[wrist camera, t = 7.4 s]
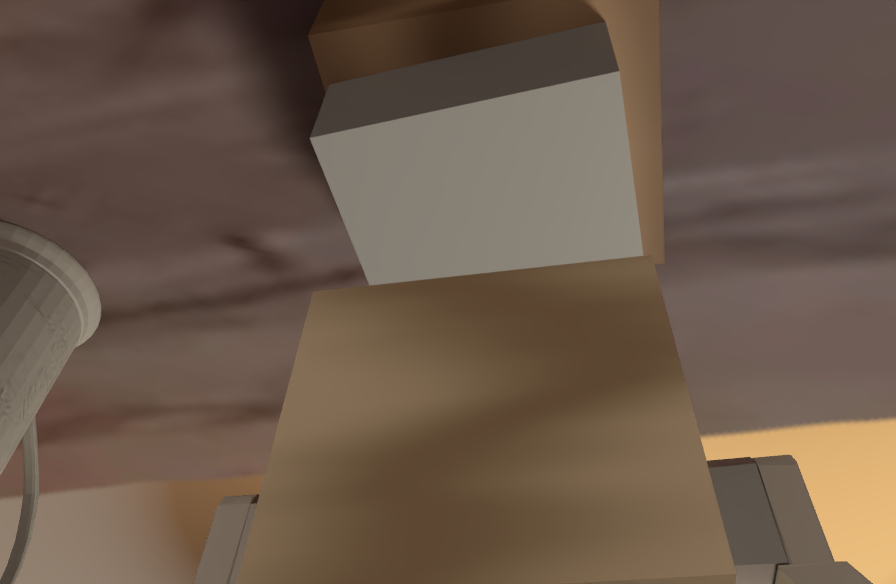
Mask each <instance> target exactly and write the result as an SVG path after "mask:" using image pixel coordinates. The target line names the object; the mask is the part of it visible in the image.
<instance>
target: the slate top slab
mask: <svg viewBox="0 0 896 584" xmlns="http://www.w3.org/2000/svg"><path fill="white" fill-rule="evenodd" d="M310 140H311V143H312V145H313V148H314V150H315V153H316V155H317V158H318V160H319V162H320V165H321V167H322V170H323V172H324V175H325V177H326V180H327V182H328V184H329V187H330V189H331V192H332V194H333V197H334V199H335V202H336V204H337V207H338V209H339V211H340V214H341V216H342V219H343V221H344V224H345V226H346V229H347V231H348V233H349V236H350V238H351V241H352V243H353V246H354V248H355V251H356V253H357V256H358V258H359V260H360V263H361V265H362V268H363V270H364V273H365V275H366V278H367V280H368V282H369V285H379V284H388V283H397V282H406V281H416V280H425V279H434V278H443V277H452V276H462V275H471V274H480V273H489V272H498V271H508V270H517V269H526V268H535V267H544V266H554V265H563V264H572V263H581V262H590V261H600V260H609V259H618V258H627V257H636V256H643V248H642V240H641V233H640V225H639V217H638V210H637V202H636V194H635V186H634V179H633V171H632V163H631V156H630V148H629V140H628V133H627V125H626V117H625V109H624V102H623V94H622V86H621V79H620V71H619V67H618V64H617V60H616V57H615V53H614V50H613V46H612V43H611V39H610V35H609V32H608V28H607V25H606V21H605V22H600V23H596V24H591V25H587V26H583V27H578V28H574V29H570V30H565V31H561V32H556V33H552V34H548V35H543V36H539V37H535V38H530V39H526V40H522V41H517V42H513V43H508V44H504V45H500V46H495V47H491V48H487V49H482V50H478V51H474V52H469V53H465V54H460V55H456V56H452V57H447V58H443V59H439V60H434V61H430V62H425V63H421V64H417V65H412V66H408V67H404V68H399V69H395V70H391V71H386V72H382V73H378V74H373V75H369V76H365V77H360V78H356V79H352V80H347V81H343V82H338V83H334V84H330V85H329V87H328V90H327V92H326V95H325V98H324V100H323V103H322V106H321V109H320V111H319V114H318V117H317V119H316V122H315V125H314V127H313V130H312V133H311V136H310Z"/></svg>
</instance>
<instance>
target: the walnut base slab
mask: <svg viewBox="0 0 896 584" xmlns="http://www.w3.org/2000/svg"><path fill="white" fill-rule="evenodd" d="M605 21H606V25H607V28H608V32H609V35H610V39H611V43H612V46H613V50H614V53H615V57H616V60H617V64H618V67H619V71H620V79H621V86H622V94H623V102H624V109H625V117H626V125H627V133H628V140H629V148H630V156H631V163H632V171H633V179H634V186H635V194H636V202H637V210H638V217H639V225H640V233H641V240H642V248H643V256H646V255H652V258H653V261H654V264H661V263H665V261H664V215H663V170H662V124H661V78H660V33H659V0H324V1H323V3H322V5H321V8H320V10H319V12H318V14H317V16H316V19H315V21H314V23H313V25H312V27H311V30H310V32H309V34H308V38H309V42H310V45H311V48H312V51H313V55H314V58H315V61H316V64H317V68H318V71H319V74H320V77H321V81H322V84H323V87H324V90H325V94H326V92H327V90H328V87H329V85H330V84H334V83H338V82H343V81H347V80H352V79H356V78H360V77H365V76H369V75H373V74H378V73H382V72H386V71H391V70H395V69H399V68H404V67H408V66H412V65H417V64H421V63H425V62H430V61H434V60H439V59H443V58H447V57H452V56H456V55H460V54H465V53H469V52H474V51H478V50H482V49H487V48H491V47H495V46H500V45H504V44H508V43H513V42H517V41H522V40H526V39H530V38H535V37H539V36H543V35H548V34H552V33H556V32H561V31H565V30H570V29H574V28H578V27H583V26H587V25H591V24H596V23H600V22H605Z"/></svg>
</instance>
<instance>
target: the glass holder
mask: <svg viewBox="0 0 896 584" xmlns="http://www.w3.org/2000/svg"><path fill="white" fill-rule="evenodd" d="M100 318H101V303H100V298H99V294H98V292H97V289H96V287H95V285H94V283H93V281H92V280H91V278H90V277H89V275H88V273H87V272H86V271H85V270H84V268H83V267H82V266H81V265H80V264H79V263H78V262H77V261H76V260H75V259H74V258H73V257H72V256H71V255H70V254H68V253H67V252H66V251H65V250H64V249H62V248H61V247H59V246H58V245H56V244H55V243H53V242H52V241H51V240H49V239H47V238H45V237H43V236H41V235H39V234H37V233H35V232H33V231H31V230H28V229H25V228H23V227H20V226H17V225H13V224H9V223H6V222H2V221H0V475H1V473H2V471H3V470H4V468H5V466H6V465H7V463H8V461H9V459H10V458H11V456H12V454H13V453H14V451H15V449H16V447H17V446H18V444H19V442H20V441H21V439H22V445H23V463H24V492H23V502H22V509H21V516H20V520H19V525H18V531H17V535H16V540H15V543H14V546H13V549H12V552H11V555H10V558H9V561H8V564H7V567H6V569H5V571H4V573H3V576H2V578H1V580H0V584H15V582H16V580H17V578H18V575H19V573H20V571H21V568H22V566H23V563H24V560H25V556H26V553H27V550H28V547H29V544H30V540H31V536H32V531H33V527H34V522H35V517H36V510H37V504H38V498H39V467H38V444H37V432H36V418H35V415H36V413H37V411H38V410H39V408H40V406H41V405H42V403H43V401H44V399H45V398H46V396H47V394H48V393H49V391H50V389H51V387H52V386H53V384H54V382H55V380H56V379H57V377H58V375H59V374H60V372H61V370H62V368H63V367H64V365H65V363H66V362H67V360H68V358H69V356H70V355H71V353H72V351H73V350H74V348H75V347H77V346H79V345H81V344H82V343H84V342H85V341H86V340H87V339H88V338H90V337H91V336H92V334H93V333H94V331H95V330H96V328H97V327H98V324H99V321H100Z"/></svg>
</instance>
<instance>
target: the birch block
mask: <svg viewBox="0 0 896 584" xmlns="http://www.w3.org/2000/svg"><path fill="white" fill-rule="evenodd" d="M236 584H736V570H735V566H734V563H733V559H732V555H731V551H730V547H729V544H728V540H727V536H726V532H725V529H724V525H723V521H722V517H721V514H720V510H719V506H718V502H717V499H716V495H715V491H714V487H713V483H712V480H711V476H710V472H709V468H708V465H707V461H706V457H705V453H704V450H703V446H702V442H701V438H700V435H699V431H698V427H697V423H696V419H695V416H694V412H693V408H692V404H691V401H690V397H689V393H688V389H687V386H686V382H685V378H684V374H683V371H682V367H681V363H680V359H679V355H678V352H677V348H676V344H675V340H674V337H673V333H672V329H671V325H670V322H669V318H668V314H667V310H666V307H665V303H664V299H663V295H662V291H661V288H660V284H659V280H658V276H657V273H656V269H655V265H654V261H653V258H652V255H646V256H636V257H627V258H618V259H609V260H600V261H590V262H581V263H572V264H563V265H554V266H544V267H535V268H526V269H517V270H508V271H498V272H489V273H480V274H471V275H462V276H452V277H443V278H434V279H425V280H416V281H406V282H397V283H388V284H379V285H370V286H361V287H351V288H342V289H333V290H324V291H315V292H313V294H312V298H311V302H310V306H309V310H308V313H307V317H306V321H305V325H304V329H303V332H302V336H301V340H300V344H299V347H298V351H297V355H296V359H295V363H294V366H293V370H292V374H291V378H290V381H289V385H288V389H287V393H286V397H285V400H284V404H283V408H282V412H281V416H280V419H279V423H278V427H277V431H276V434H275V438H274V442H273V446H272V450H271V453H270V457H269V461H268V465H267V468H266V472H265V476H264V480H263V484H262V488H261V492H260V495H259V499H258V503H257V506H256V510H255V514H254V518H253V521H252V525H251V529H250V533H249V537H248V540H247V544H246V548H245V552H244V556H243V559H242V563H241V567H240V571H239V574H238V578H237V582H236Z"/></svg>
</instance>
